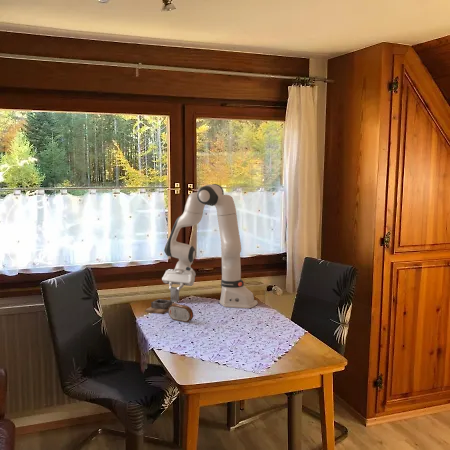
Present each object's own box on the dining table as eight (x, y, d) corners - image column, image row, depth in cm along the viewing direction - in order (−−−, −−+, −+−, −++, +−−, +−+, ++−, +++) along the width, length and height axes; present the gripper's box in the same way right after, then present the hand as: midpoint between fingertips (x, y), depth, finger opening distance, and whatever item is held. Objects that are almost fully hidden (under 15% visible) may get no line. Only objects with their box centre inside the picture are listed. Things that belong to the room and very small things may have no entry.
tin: (193, 322, 255) (193, 306, 254) (190, 323, 252) (189, 308, 251) (171, 317, 263) (170, 302, 262) (167, 319, 260) (167, 303, 259)
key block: (179, 301, 292) (178, 287, 291) (176, 302, 290) (176, 288, 289) (173, 300, 294) (172, 286, 293) (170, 302, 291) (170, 288, 290)
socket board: (177, 305, 284) (177, 298, 283) (162, 314, 268) (162, 306, 268) (161, 303, 288) (161, 296, 288) (145, 311, 273) (145, 304, 272)
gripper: (165, 266, 300) (157, 285, 292) (194, 268, 292) (187, 288, 284) (168, 271, 304) (161, 290, 297) (198, 274, 296) (190, 294, 289)
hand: (174, 289), depth 290 cm, fingers closed on key block, 4 cm apart
